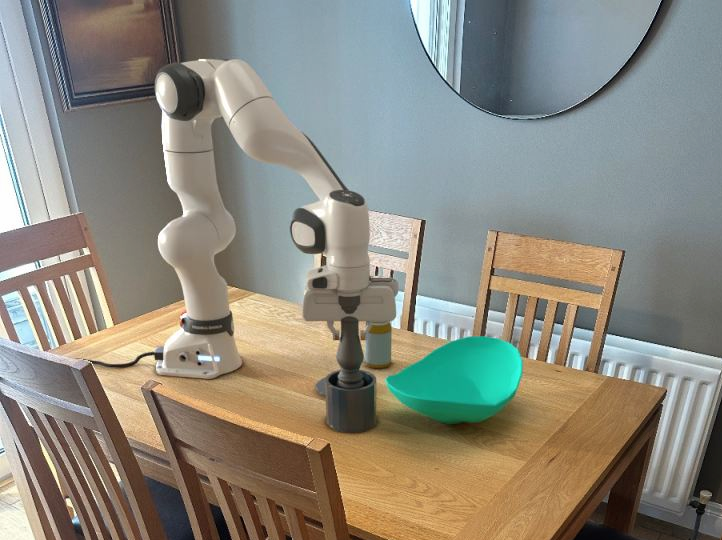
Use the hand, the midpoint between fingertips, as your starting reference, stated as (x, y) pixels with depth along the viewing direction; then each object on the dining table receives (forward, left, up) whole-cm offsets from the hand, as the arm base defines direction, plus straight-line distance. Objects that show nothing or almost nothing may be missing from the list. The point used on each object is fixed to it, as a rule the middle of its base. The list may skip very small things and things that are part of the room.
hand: (349, 339), depth 160 cm
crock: (0, 0, -20) cm, 20 cm away
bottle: (+7, +33, -20) cm, 39 cm away
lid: (-3, +17, -19) cm, 26 cm away
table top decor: (+24, +2, -20) cm, 31 cm away
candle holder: (0, 0, -14) cm, 14 cm away
